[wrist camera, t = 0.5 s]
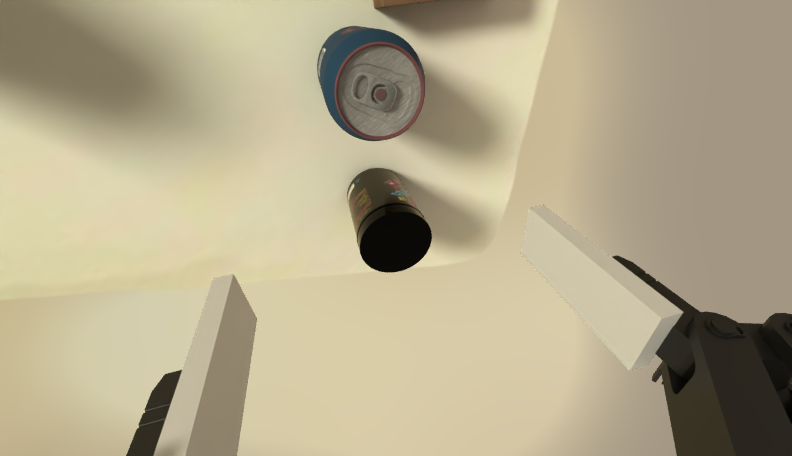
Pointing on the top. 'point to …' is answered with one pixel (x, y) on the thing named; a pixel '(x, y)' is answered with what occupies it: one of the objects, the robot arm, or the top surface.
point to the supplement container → (387, 221)
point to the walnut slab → (395, 2)
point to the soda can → (371, 82)
